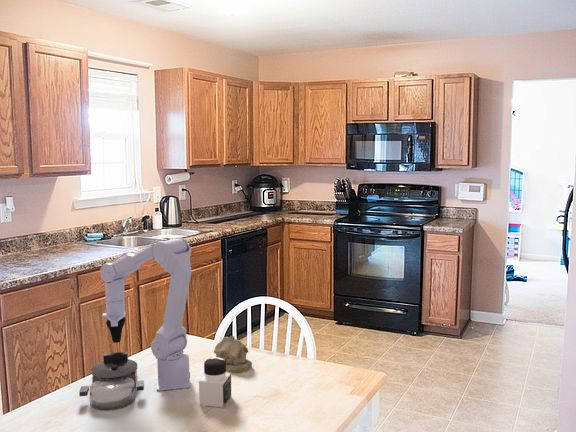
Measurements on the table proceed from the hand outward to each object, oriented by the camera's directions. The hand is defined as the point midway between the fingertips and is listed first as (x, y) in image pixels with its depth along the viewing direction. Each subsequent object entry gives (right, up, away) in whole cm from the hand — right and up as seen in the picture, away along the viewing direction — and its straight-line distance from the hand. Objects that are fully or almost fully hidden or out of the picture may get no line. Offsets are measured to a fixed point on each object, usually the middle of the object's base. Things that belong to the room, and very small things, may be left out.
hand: (116, 341), depth 175 cm
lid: (+3, -6, -11) cm, 13 cm away
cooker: (+4, -11, -15) cm, 19 cm away
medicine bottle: (+34, -12, -20) cm, 41 cm away
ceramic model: (+36, -9, +5) cm, 38 cm away
